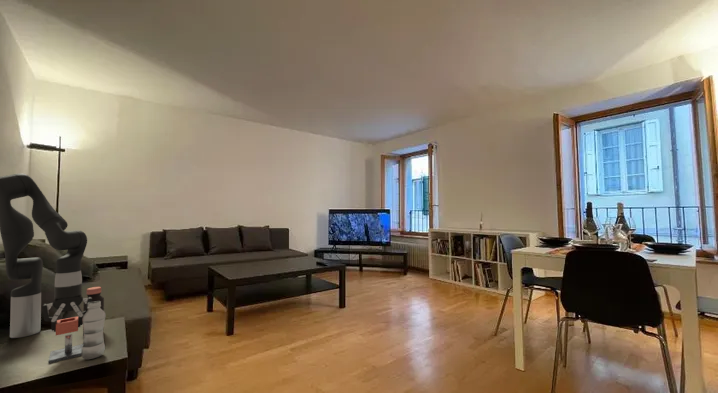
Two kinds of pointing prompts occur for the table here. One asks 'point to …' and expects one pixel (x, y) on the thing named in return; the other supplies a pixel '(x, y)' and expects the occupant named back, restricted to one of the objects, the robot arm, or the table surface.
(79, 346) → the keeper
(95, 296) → the vinegar
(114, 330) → the table surface
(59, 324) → the link
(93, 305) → the plastic bottle
